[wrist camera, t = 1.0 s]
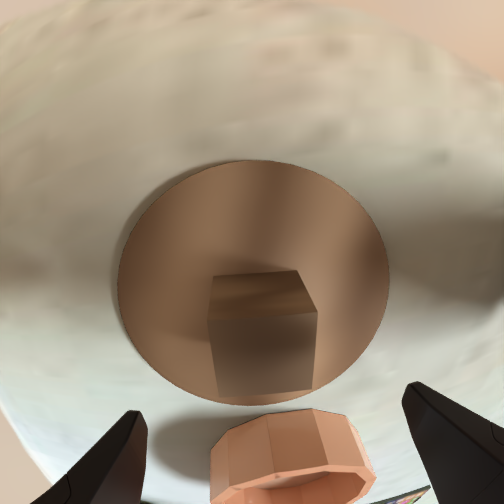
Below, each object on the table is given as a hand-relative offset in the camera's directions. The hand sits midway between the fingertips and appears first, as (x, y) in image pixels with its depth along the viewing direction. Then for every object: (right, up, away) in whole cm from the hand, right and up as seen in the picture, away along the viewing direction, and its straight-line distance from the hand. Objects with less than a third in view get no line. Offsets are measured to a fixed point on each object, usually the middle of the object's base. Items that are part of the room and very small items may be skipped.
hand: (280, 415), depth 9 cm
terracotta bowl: (+2, -12, +12) cm, 17 cm away
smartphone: (+19, -34, +22) cm, 45 cm away
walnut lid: (-1, +3, +8) cm, 8 cm away
